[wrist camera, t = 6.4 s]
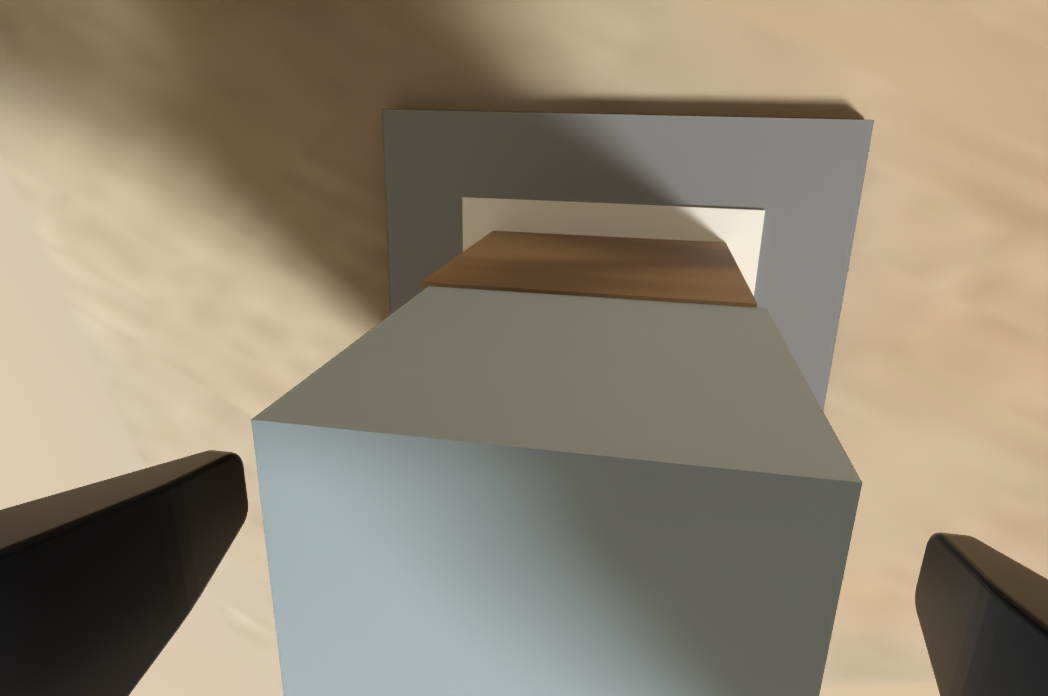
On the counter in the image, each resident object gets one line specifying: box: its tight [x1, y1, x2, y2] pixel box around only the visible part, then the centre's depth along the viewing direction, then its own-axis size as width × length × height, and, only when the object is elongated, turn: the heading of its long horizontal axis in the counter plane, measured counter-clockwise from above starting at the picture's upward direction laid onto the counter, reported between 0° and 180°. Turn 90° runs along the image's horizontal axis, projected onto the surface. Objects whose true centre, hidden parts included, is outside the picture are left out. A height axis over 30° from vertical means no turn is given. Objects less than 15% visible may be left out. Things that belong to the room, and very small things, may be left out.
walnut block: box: [421, 231, 757, 308], centre depth 13 cm, size 5×5×5 cm
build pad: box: [382, 109, 874, 411], centre depth 16 cm, size 10×10×1 cm
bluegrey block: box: [251, 286, 862, 696], centre depth 9 cm, size 5×5×5 cm
